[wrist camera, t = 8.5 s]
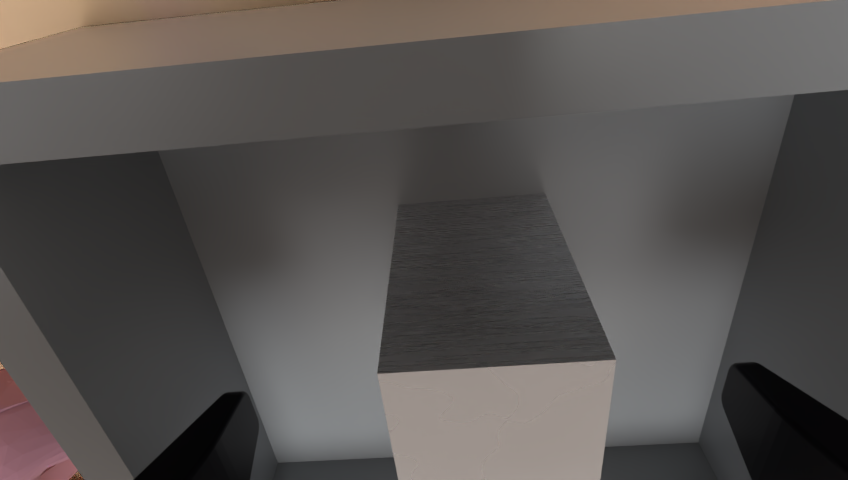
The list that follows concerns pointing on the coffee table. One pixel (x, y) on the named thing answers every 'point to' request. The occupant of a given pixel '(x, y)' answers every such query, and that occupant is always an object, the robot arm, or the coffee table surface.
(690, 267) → the open box
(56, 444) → the video game controller
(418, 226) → the grey stepped block
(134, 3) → the coffee table surface
